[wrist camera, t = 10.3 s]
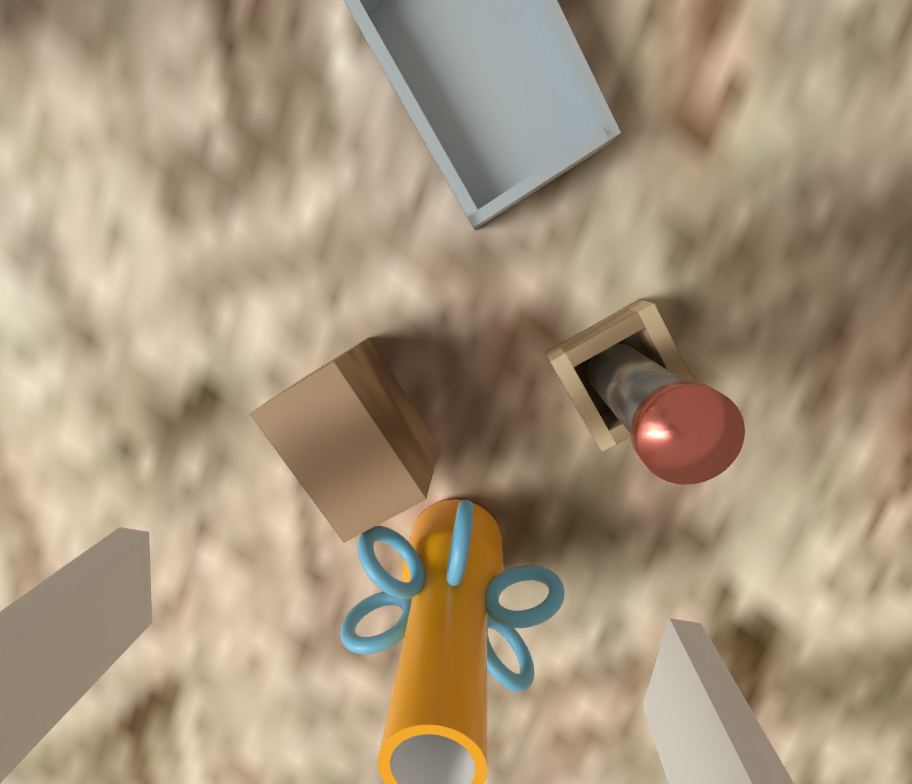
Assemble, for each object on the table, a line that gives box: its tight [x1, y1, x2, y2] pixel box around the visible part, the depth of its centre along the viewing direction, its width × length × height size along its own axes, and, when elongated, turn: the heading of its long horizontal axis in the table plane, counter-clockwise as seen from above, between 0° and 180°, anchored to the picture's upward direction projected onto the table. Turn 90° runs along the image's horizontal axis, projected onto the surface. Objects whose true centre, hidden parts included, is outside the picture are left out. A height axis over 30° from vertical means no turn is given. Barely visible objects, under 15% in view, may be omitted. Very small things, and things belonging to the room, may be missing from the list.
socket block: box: [545, 299, 693, 451], centre depth 27 cm, size 6×6×2 cm
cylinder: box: [340, 499, 564, 784], centre depth 25 cm, size 12×10×15 cm
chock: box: [250, 338, 439, 542], centre depth 27 cm, size 8×5×7 cm, turn 31°
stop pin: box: [587, 343, 745, 484], centre depth 23 cm, size 4×4×11 cm
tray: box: [344, 0, 621, 230], centre depth 23 cm, size 12×8×3 cm, turn 31°
